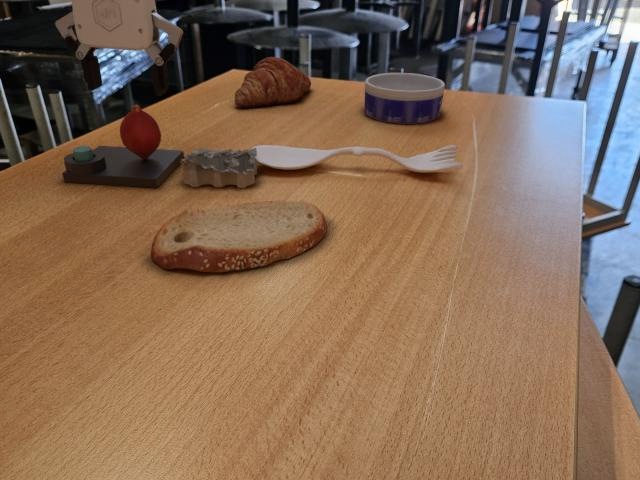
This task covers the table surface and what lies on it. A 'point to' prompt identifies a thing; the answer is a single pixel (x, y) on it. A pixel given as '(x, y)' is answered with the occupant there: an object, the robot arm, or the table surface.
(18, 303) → the table surface
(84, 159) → the button
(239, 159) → the egg carton
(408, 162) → the white plastic spork
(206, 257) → the bread slice
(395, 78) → the dog bowl
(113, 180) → the scale
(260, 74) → the pastry
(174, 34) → the robot arm
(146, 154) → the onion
